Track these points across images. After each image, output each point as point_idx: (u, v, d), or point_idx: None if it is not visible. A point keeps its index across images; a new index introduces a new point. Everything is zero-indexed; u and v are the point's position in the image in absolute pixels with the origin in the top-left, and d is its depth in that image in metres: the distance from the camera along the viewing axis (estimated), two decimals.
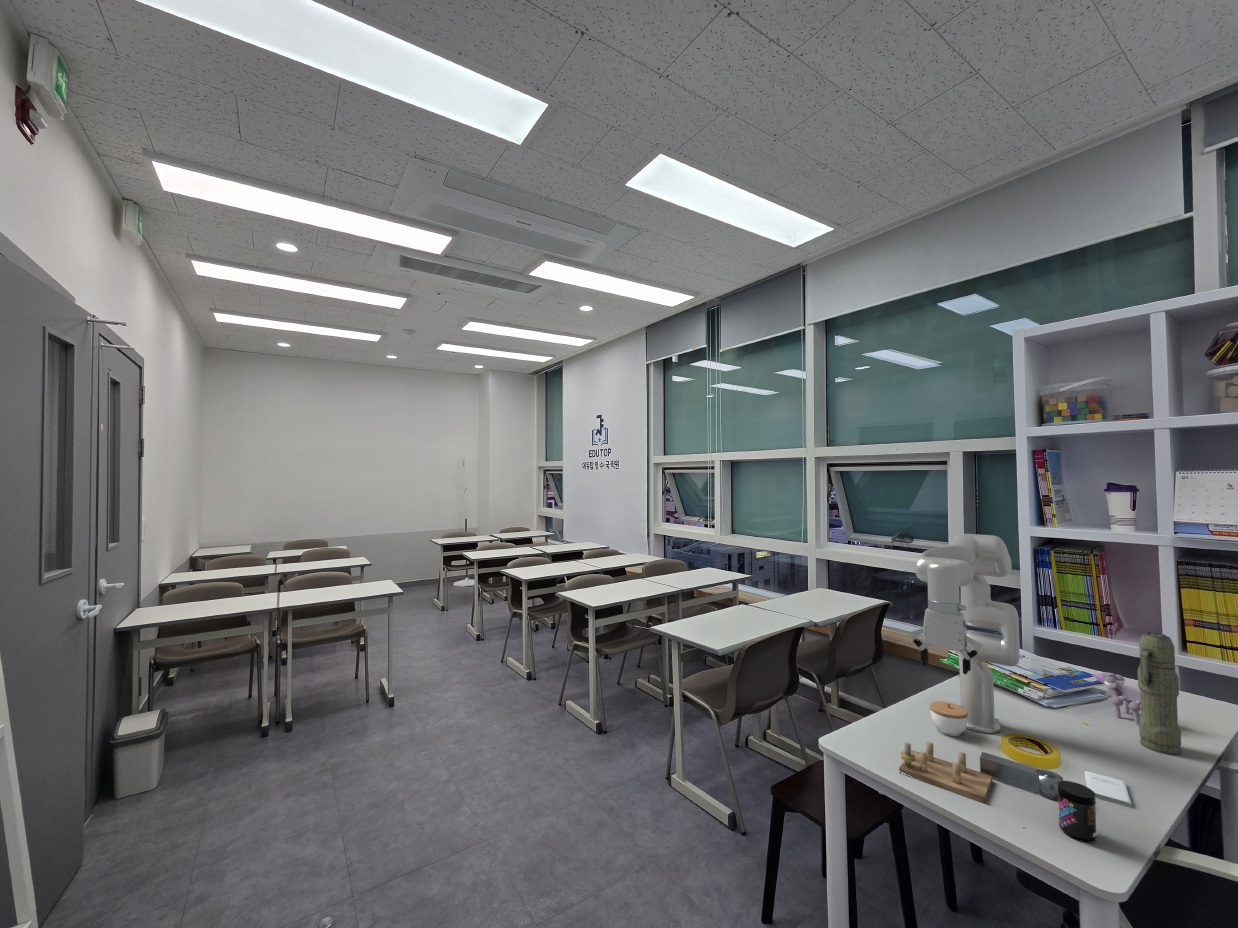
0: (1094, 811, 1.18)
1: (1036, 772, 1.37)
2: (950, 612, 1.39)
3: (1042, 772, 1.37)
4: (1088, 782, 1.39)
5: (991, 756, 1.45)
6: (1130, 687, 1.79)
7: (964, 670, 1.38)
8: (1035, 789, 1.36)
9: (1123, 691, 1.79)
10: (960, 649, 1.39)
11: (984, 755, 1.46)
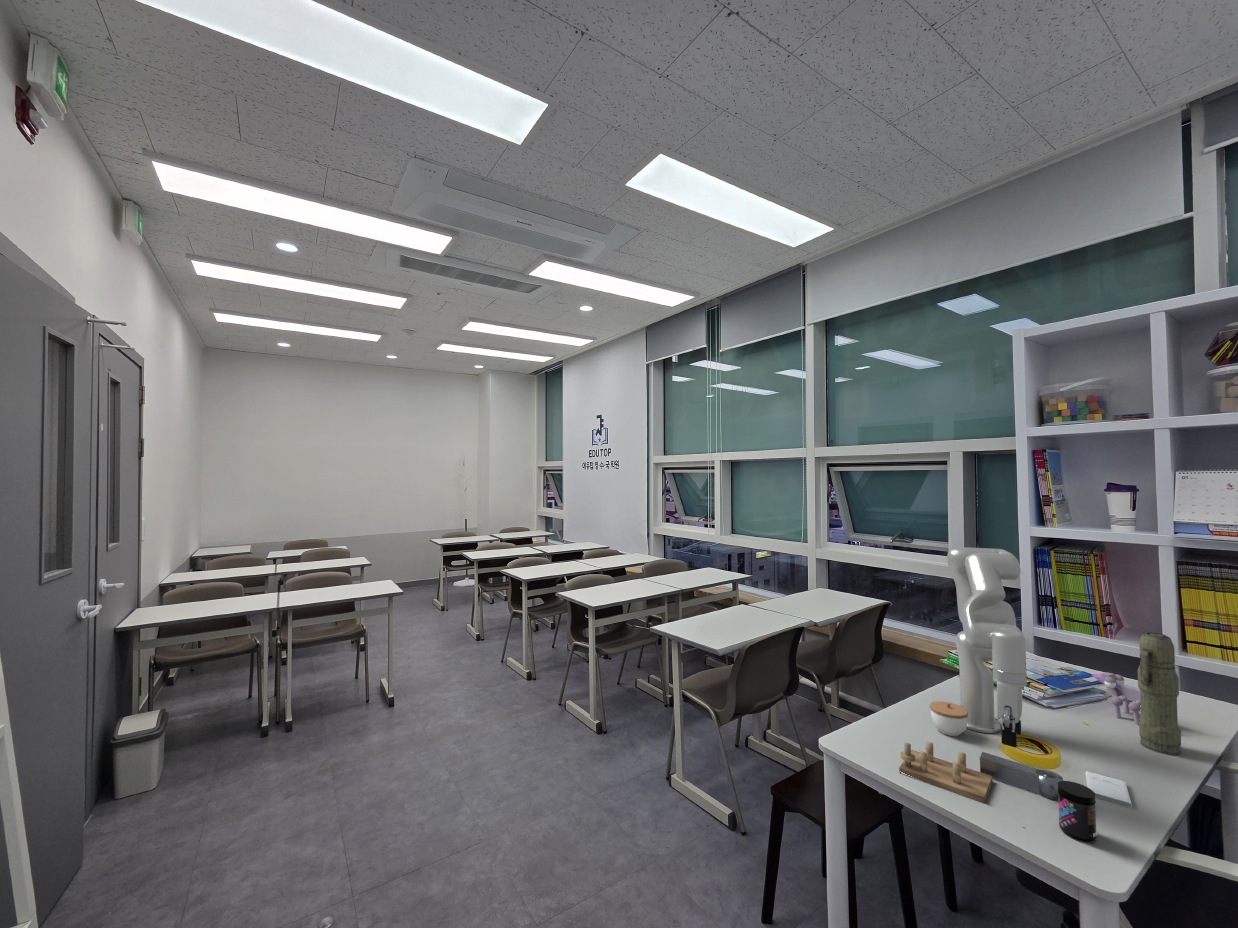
0: (1094, 811, 1.18)
1: (1036, 772, 1.37)
2: None
3: (1042, 772, 1.37)
4: (1088, 782, 1.39)
5: (991, 756, 1.45)
6: (1130, 687, 1.79)
7: (1020, 731, 1.44)
8: (1035, 789, 1.36)
9: (1123, 691, 1.79)
10: None
11: (984, 755, 1.46)
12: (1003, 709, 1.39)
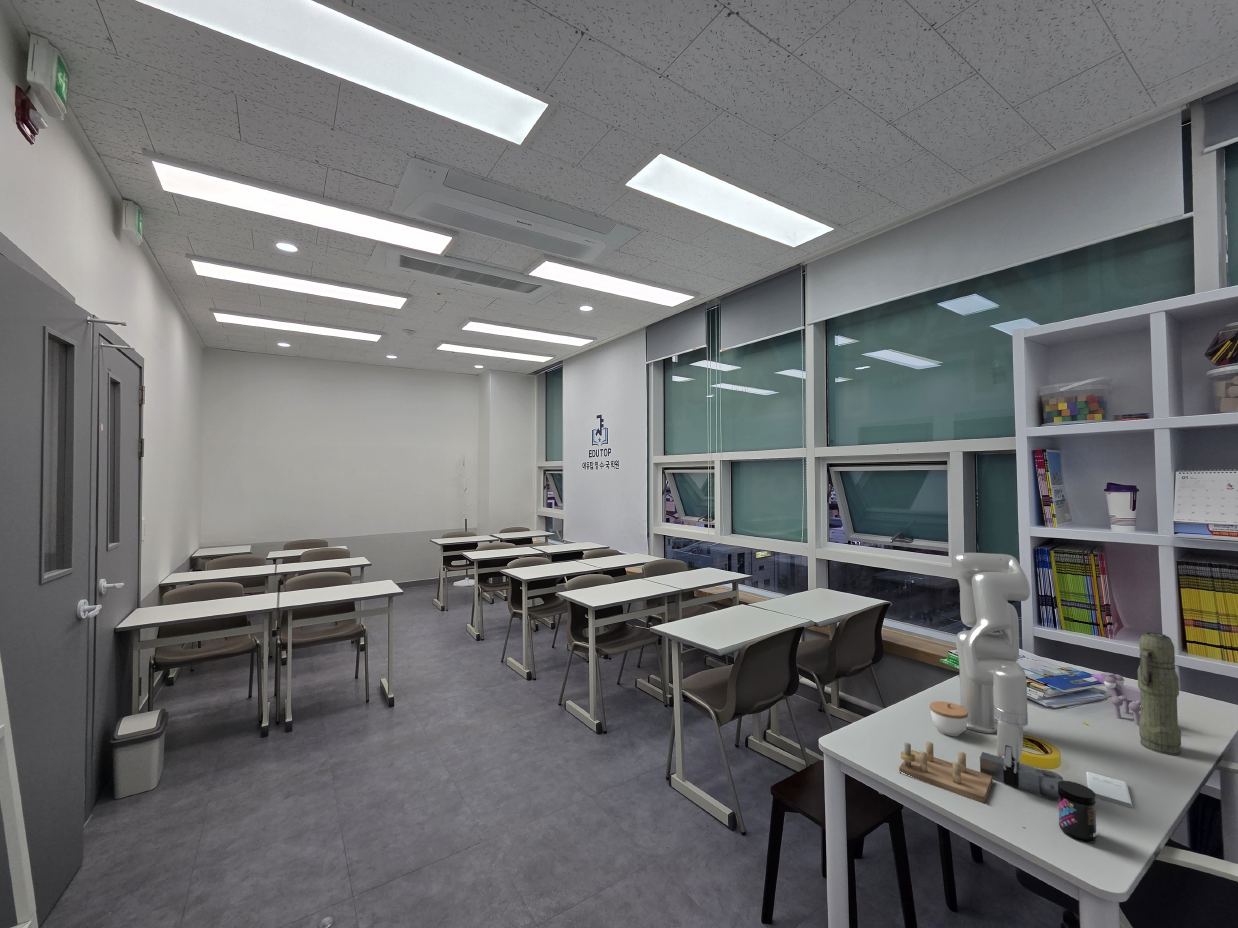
0: (1094, 811, 1.18)
1: (1036, 772, 1.37)
2: None
3: (1042, 772, 1.37)
4: (1089, 782, 1.39)
5: (991, 756, 1.45)
6: (1130, 687, 1.79)
7: None
8: (1035, 789, 1.36)
9: (1123, 691, 1.79)
10: None
11: (984, 755, 1.46)
12: (1004, 749, 1.39)
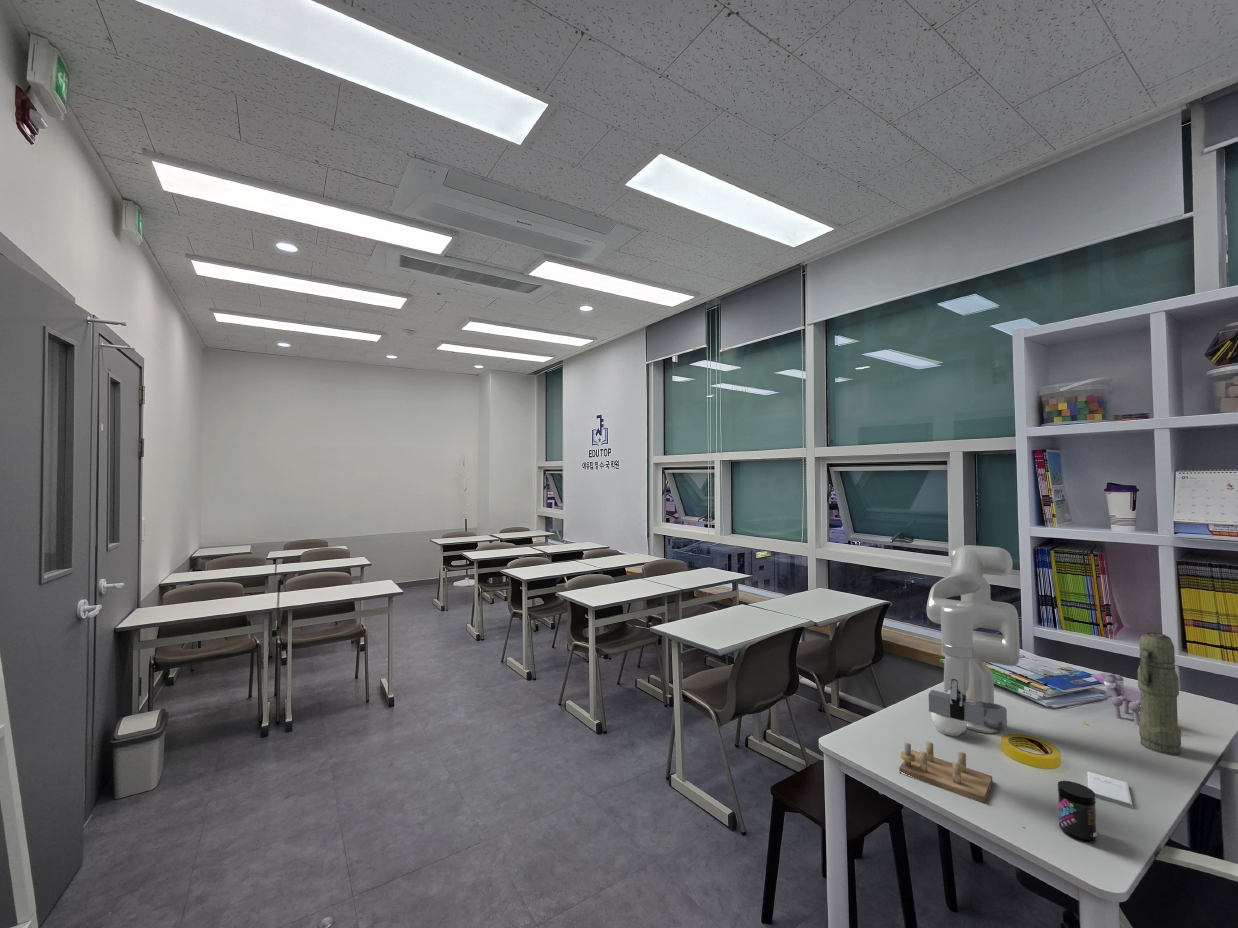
0: (1094, 811, 1.18)
1: (981, 705, 1.40)
2: None
3: (987, 704, 1.40)
4: (1090, 783, 1.39)
5: (939, 693, 1.48)
6: (1130, 687, 1.79)
7: None
8: (980, 721, 1.39)
9: (1123, 691, 1.79)
10: None
11: (932, 692, 1.48)
12: (950, 682, 1.41)
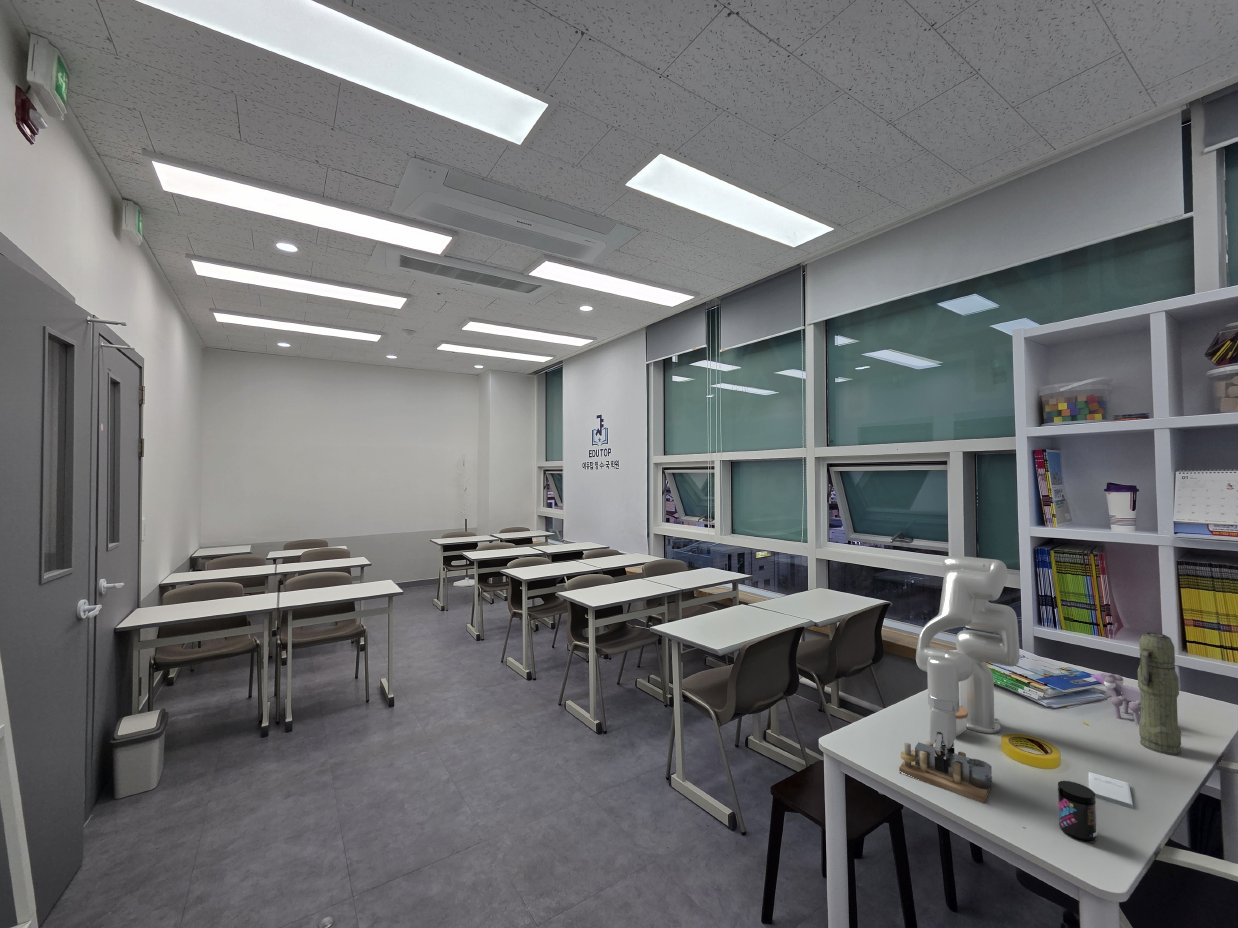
0: (1094, 811, 1.18)
1: (966, 762, 1.40)
2: None
3: (972, 761, 1.40)
4: (1090, 783, 1.39)
5: (926, 746, 1.48)
6: (1129, 687, 1.79)
7: None
8: (965, 778, 1.39)
9: (1123, 691, 1.79)
10: (955, 736, 1.46)
11: (919, 745, 1.48)
12: (935, 735, 1.41)
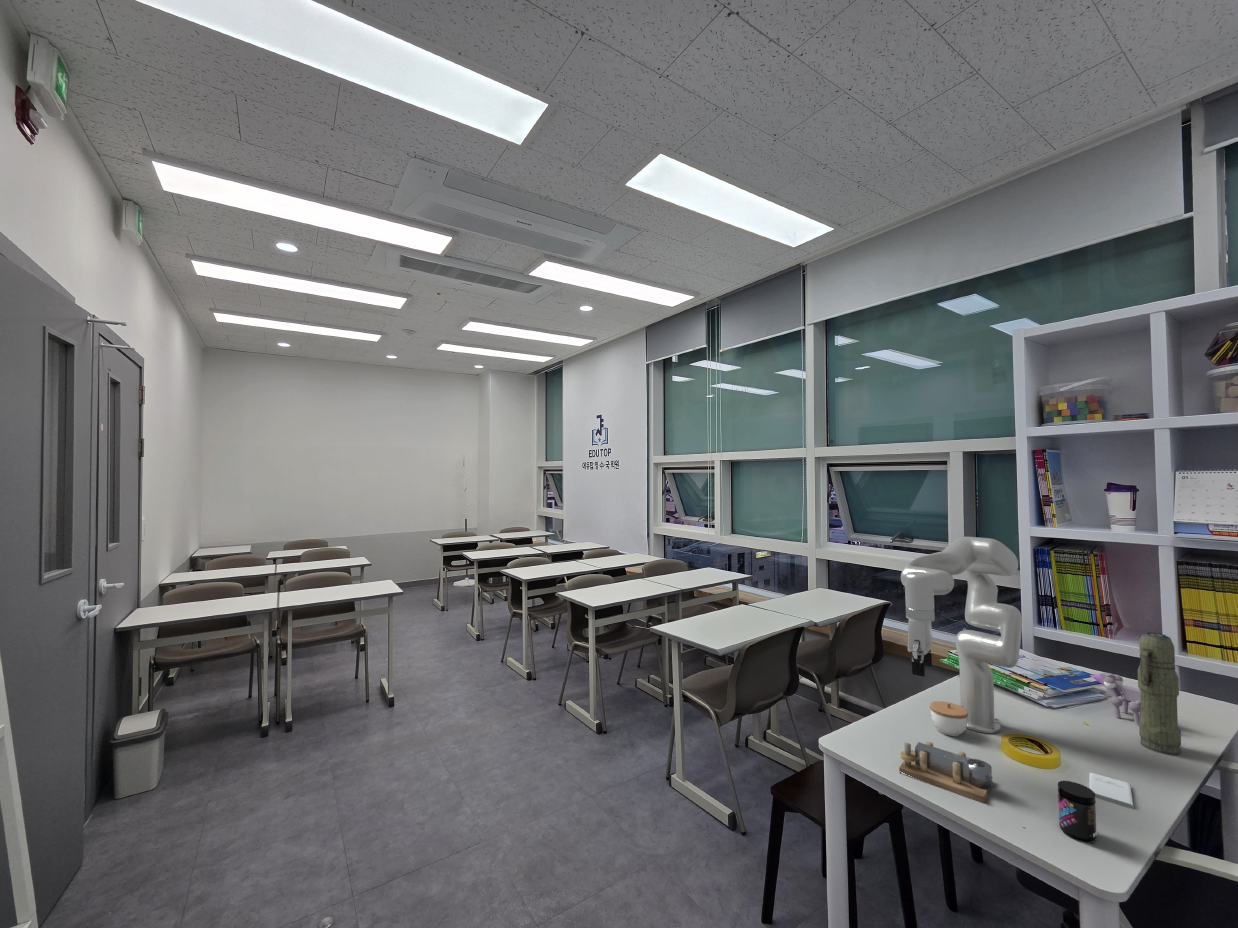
0: (1094, 811, 1.18)
1: (966, 762, 1.40)
2: None
3: (972, 761, 1.40)
4: (1091, 783, 1.39)
5: (926, 746, 1.48)
6: (1129, 687, 1.79)
7: (931, 662, 1.57)
8: (965, 778, 1.39)
9: (1122, 691, 1.79)
10: (931, 645, 1.56)
11: (919, 745, 1.48)
12: (913, 643, 1.52)
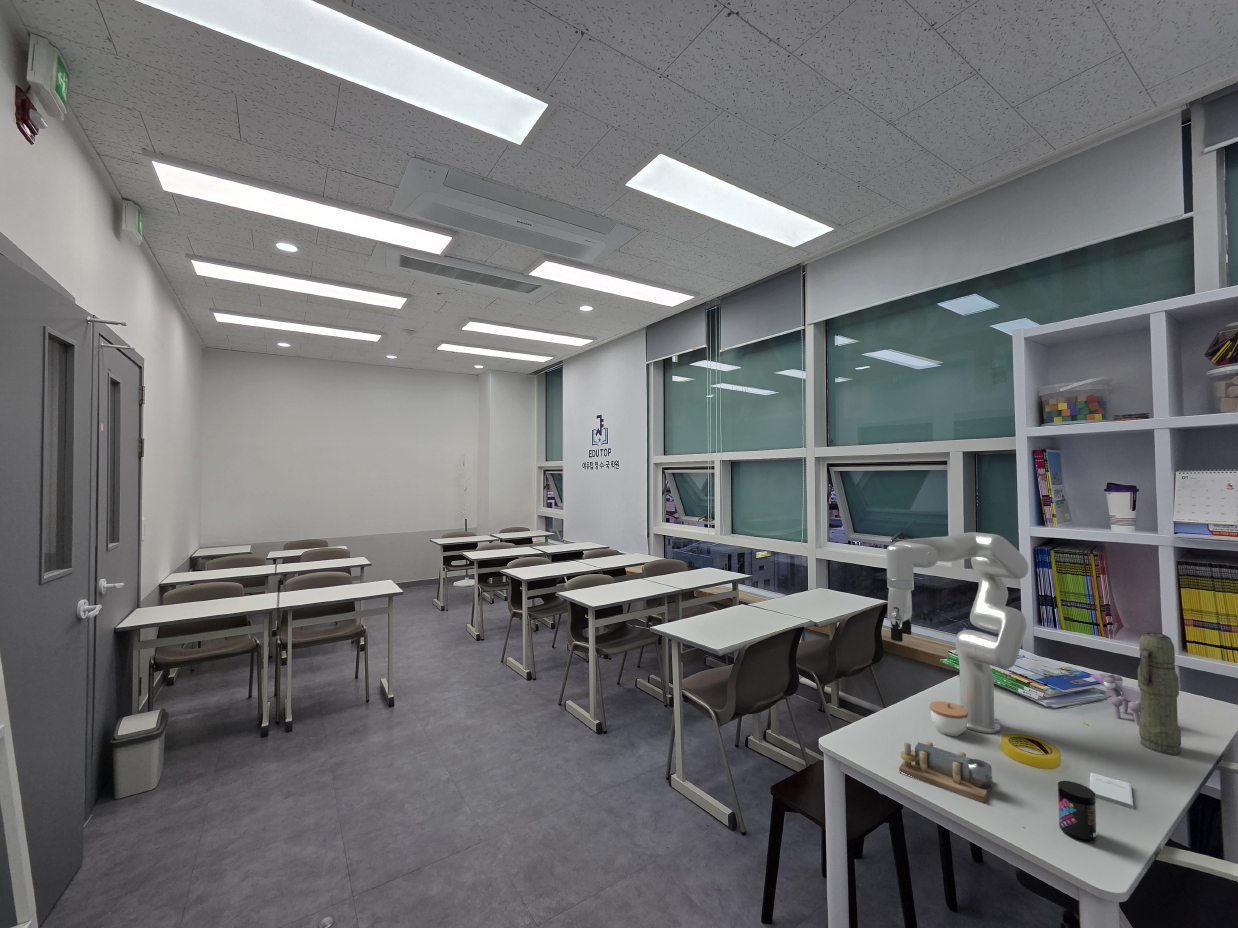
0: (1094, 811, 1.18)
1: (966, 762, 1.40)
2: None
3: (972, 761, 1.40)
4: (1091, 783, 1.39)
5: (926, 746, 1.48)
6: (1129, 687, 1.79)
7: (910, 631, 1.66)
8: (965, 778, 1.39)
9: (1122, 691, 1.79)
10: None
11: (919, 745, 1.48)
12: (892, 610, 1.61)
